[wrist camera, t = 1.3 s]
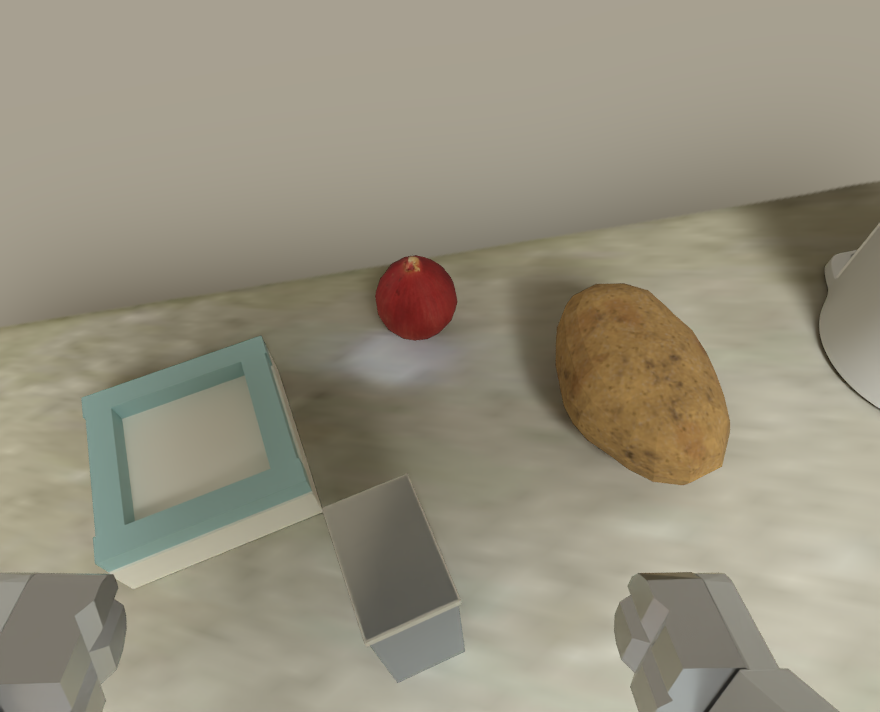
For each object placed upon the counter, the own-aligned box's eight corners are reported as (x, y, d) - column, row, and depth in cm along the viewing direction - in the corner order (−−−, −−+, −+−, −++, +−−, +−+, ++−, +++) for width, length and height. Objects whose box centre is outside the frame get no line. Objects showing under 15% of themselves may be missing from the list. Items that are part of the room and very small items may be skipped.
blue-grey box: (425, 550, 38) (407, 473, 29) (467, 652, 35) (461, 600, 26) (360, 578, 37) (321, 508, 28) (396, 685, 34) (364, 643, 25)
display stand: (278, 370, 46) (260, 333, 43) (323, 512, 40) (306, 482, 36) (114, 429, 44) (81, 395, 41) (133, 589, 38) (95, 566, 34)
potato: (605, 536, 38) (629, 481, 31) (521, 357, 46) (527, 284, 39) (749, 489, 39) (802, 427, 32) (643, 323, 47) (668, 246, 41)
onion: (369, 322, 49) (352, 248, 42) (433, 291, 50) (425, 215, 44) (405, 374, 46) (392, 302, 39) (472, 339, 47) (470, 265, 41)
